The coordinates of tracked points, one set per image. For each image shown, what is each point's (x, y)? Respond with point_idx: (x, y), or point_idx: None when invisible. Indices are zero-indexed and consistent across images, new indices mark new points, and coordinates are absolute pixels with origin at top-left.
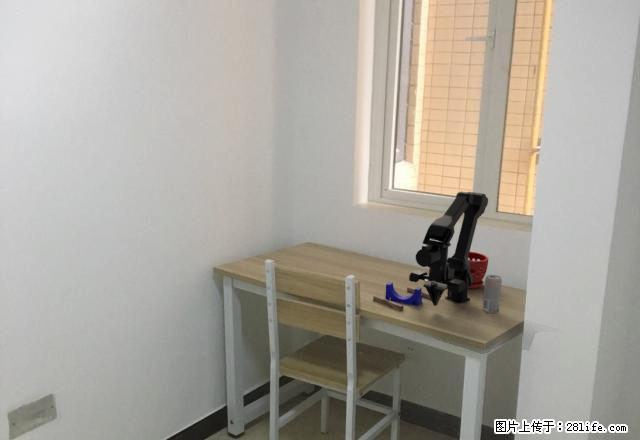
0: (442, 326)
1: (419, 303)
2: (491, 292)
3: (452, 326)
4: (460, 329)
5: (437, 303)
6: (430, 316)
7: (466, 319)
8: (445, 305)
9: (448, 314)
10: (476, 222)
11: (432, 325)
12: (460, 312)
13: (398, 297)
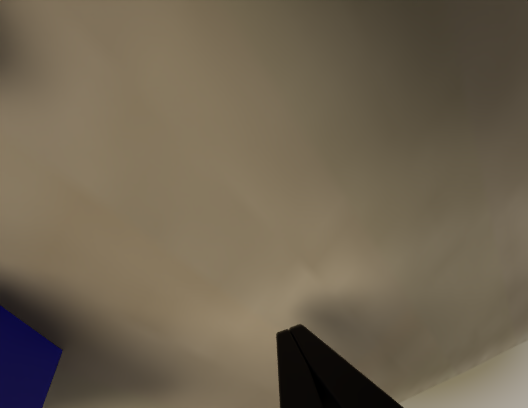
0: (422, 369)
1: (13, 330)
2: None
3: (459, 332)
4: (496, 320)
5: (317, 342)
6: None
7: (505, 200)
8: (223, 64)
9: (380, 243)
10: None
11: None
12: (440, 116)
13: None
